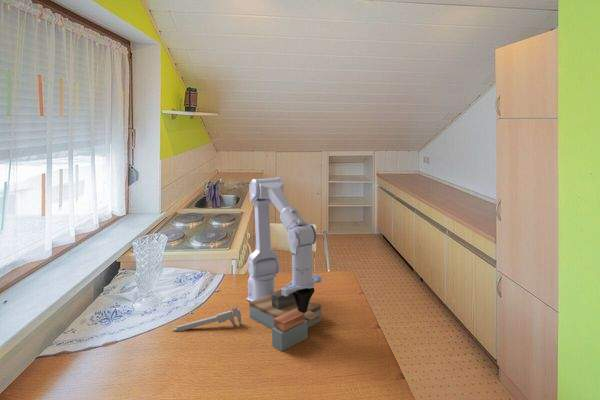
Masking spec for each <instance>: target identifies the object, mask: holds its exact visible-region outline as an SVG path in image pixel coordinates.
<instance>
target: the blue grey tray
mask: <svg viewBox="0 0 600 400" xmlns="http://www.w3.org/2000/svg"><path fill="white" fill-rule="evenodd" d="M314 313H316V314H318V315H319V319H318V320H316V321H314V322H312V323H308V321H307V320H305V322H302V323H300V324H298V325H296V326H294V327H292V328H290V329H288V330H286V331H282V330H280V329H278V328H276V327H274V318H273V317H271V316H269V315H267V314H265V313H263V312H261V311H259V310H257V309H255V308H253V307H251V306H250V305H249V318H250V319H252V320H254V321H256V322H258V323H260V324H262V325H264V326H265V327H267V328H269V329H271V342H272V343H271V346H272V347H274V348H276V349H277V350H279V351H280V352H284V351H285V350H287V349H289V348H291V347H292V346H295V345H297V344H298V343H301V342H303V341H304V340H306V339H308V337H309V336H308V335H309V333H308V332H309V331H308V330H309V329H308V328H310V327H312V326H314V325H316V324H317V323H320V322H322V308H321V309H320V310H318V311H316V312H314Z"/></svg>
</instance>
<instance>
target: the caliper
mask: <svg viewBox="0 0 600 400" xmlns="http://www.w3.org/2000/svg"><path fill="white" fill-rule="evenodd" d="M240 311H241V310H240V309H239V308H237V306H236V305H235V307H233V306H232V307H231V310H229V311H224V312H220V313H217V314H216V315H214V316H211V317H207V318H203V319H198V320H195V321H190V322H187V323H184V324H180V325H177V326H176V327H174V328H172V332H176V331H177V332H181V331H186V330H190V329H194V328H197V327H200V326H201V327H202V326H205V325H209V324H213V323H216V322H217V323H218V324H221V323H225V322H227V320H228V321H230V323H231V324H232V325H233V327H236V320H235V317H236V319H237V321H238V325H240V326H241V325H242V315H241V312H240Z"/></svg>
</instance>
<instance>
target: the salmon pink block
mask: <svg viewBox="0 0 600 400" xmlns="http://www.w3.org/2000/svg"><path fill="white" fill-rule="evenodd" d="M302 322H305V314H304V313H302V312H300V311H298V310H296V309H294V310H292V311H290V312H287V313H285V314H283V315H281V316H278V317H276V318H274V327H276V328H278V329H280V330H282V331H286V330H288V329H290V328H292V327H294V326H296V325H298V324H300V323H302Z"/></svg>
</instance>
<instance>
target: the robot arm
mask: <svg viewBox="0 0 600 400" xmlns="http://www.w3.org/2000/svg"><path fill="white" fill-rule="evenodd" d="M248 186H249V187H248V189H249V202H250V203H252V204H253V206H254V207H253V208H254V223H255V224H254V226H255V227H254V228H255V229H254V230H255V248H256V249H254V251H252V252H251V254H249V255H248V263H247V272H248V275H249V277H248V280H247V297H246V298H245V300H247V301H249V302H251V301H253V300H256V299H259V298H261V297H264V296H266V295H269V294H271V293H274V292H276V291H275V290H276V289H275V278H276V277H277V274H278V273H279V271H280V261H279V258H278V257H279V256H278V253H277V252H276V251H274V250H273V249H272V248H271V247H272V246H271V245H272V243H271V225H270V224H271V223H270V222H271V219H270V205H271V203H272V204H273V205H274V206H275V208H276V209H277V211H278V212H279V213H280V214H279V220H280V221H281V223H282V226H283V227H284V228H285V230H286V232H287V240H288V243H289V250H290V253H291V265H292V266H291V270H292V271H291V272H292V275H291V278H292V279H291V281H290V282H288V283H287V284H286V285H284V286H283V287H281V289H280V290H281V295H283V296H288V295H289V294H290V293H292V295H293V297H294V298H295V301H296V304H297V307H298V311H300V312H302V313H306V312H307V308H308V304H309V301H311V298H312V297H313V295H314V293H315V284H317V283H322V282H323V275H320V274H318V273H317V274H313V245H314V244H315V243H316V242H317V237H318V236H317V232H316V229H315V226H314V225H313V224H311V223H309V222H306V221H305V220H304V218H303V216H302V215H301V214H300V212H299V211H298V210H297V208H296V207H294V206H291V205H290V202H289V200H288V199H287V197H286V195H285V193H284V192H285V186H284V181H283V180H282V179H281V178H280V177H278V176H275V177H268V178H258V179H257V178H253V179H251V181H250V182H249V185H248Z"/></svg>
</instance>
